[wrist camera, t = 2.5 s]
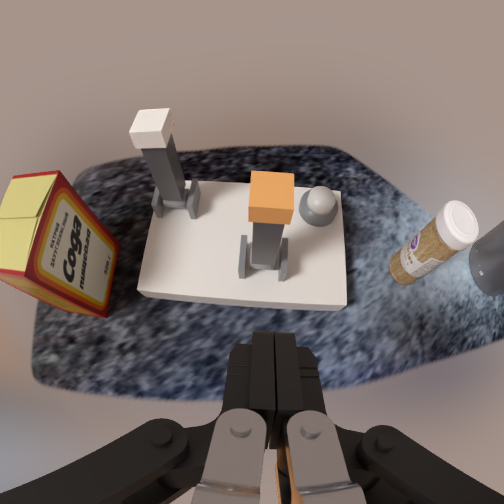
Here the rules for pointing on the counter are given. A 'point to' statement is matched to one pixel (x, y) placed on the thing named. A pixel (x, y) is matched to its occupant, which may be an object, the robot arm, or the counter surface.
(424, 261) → the sprinkles bottle
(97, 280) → the baking soda box
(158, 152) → the lever white
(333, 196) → the switch panel
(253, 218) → the lever orange
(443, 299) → the counter surface
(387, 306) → the counter surface
